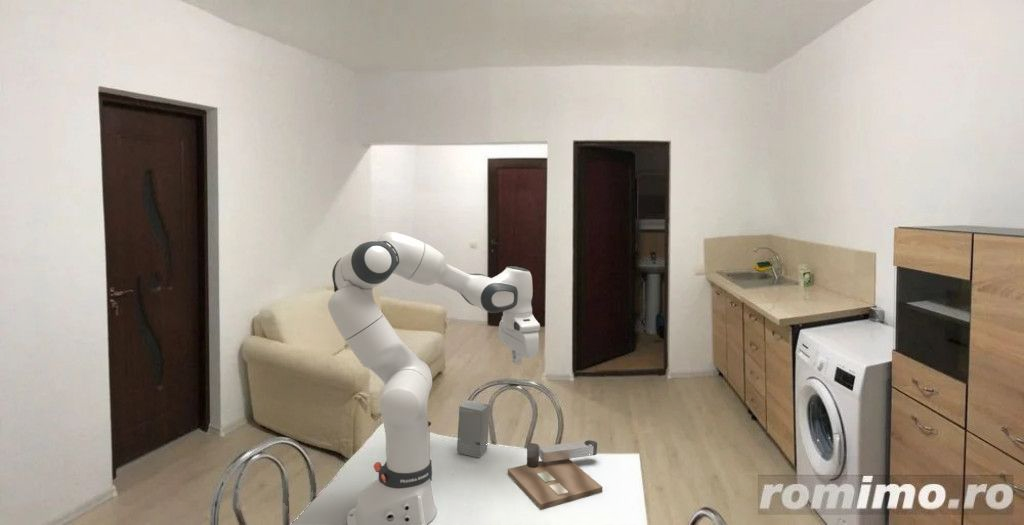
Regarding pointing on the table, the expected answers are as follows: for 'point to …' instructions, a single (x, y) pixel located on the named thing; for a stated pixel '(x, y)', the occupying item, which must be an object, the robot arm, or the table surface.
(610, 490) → the table surface
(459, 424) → the skincare box
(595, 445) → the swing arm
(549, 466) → the label board
